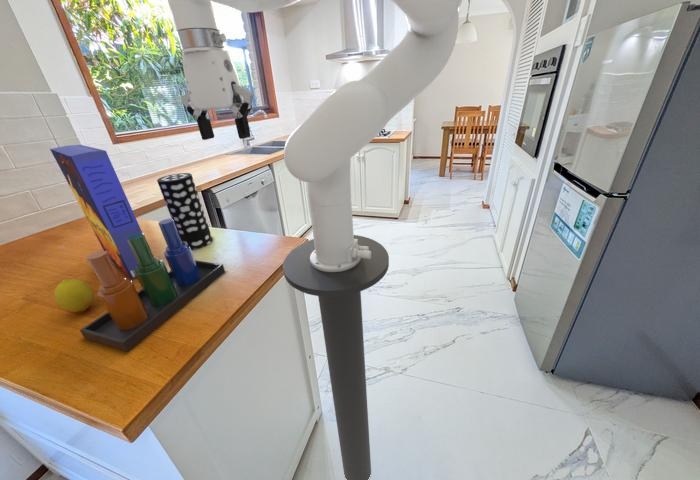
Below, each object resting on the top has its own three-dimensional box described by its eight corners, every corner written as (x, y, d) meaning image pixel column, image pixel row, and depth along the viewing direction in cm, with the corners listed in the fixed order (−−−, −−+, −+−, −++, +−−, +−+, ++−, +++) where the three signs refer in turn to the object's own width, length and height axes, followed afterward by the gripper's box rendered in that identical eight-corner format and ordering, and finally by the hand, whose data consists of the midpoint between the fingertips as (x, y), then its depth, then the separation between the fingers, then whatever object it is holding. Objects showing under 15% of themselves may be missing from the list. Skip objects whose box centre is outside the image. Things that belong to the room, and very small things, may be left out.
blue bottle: (205, 274, 69) (184, 217, 62) (188, 287, 65) (164, 227, 58) (188, 272, 71) (166, 215, 64) (171, 284, 67) (145, 225, 60)
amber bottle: (154, 314, 58) (122, 248, 51) (130, 333, 53) (91, 264, 46) (136, 309, 59) (102, 245, 52) (110, 327, 55) (70, 260, 48)
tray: (225, 272, 71) (222, 264, 70) (128, 352, 50) (122, 342, 49) (190, 266, 75) (187, 259, 74) (85, 339, 54) (79, 330, 53)
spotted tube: (175, 248, 84) (149, 181, 75) (196, 235, 91) (174, 172, 82) (199, 250, 82) (174, 182, 73) (218, 237, 89) (198, 173, 80)
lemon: (92, 299, 65) (74, 269, 61) (105, 306, 62) (87, 275, 58) (62, 315, 60) (40, 284, 57) (74, 323, 58) (53, 291, 54)
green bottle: (182, 292, 63) (157, 231, 56) (162, 308, 59) (132, 244, 52) (164, 289, 65) (137, 229, 58) (144, 303, 61) (112, 241, 54)
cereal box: (106, 254, 84) (49, 147, 70) (129, 246, 88) (80, 143, 74) (132, 279, 71) (69, 155, 57) (158, 268, 75) (105, 149, 61)
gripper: (252, 40, 55) (270, 134, 63) (182, 51, 61) (207, 136, 69) (226, 35, 49) (249, 140, 57) (151, 47, 54) (182, 142, 62)
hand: (226, 138), depth 63 cm, fingers open, 9 cm apart
